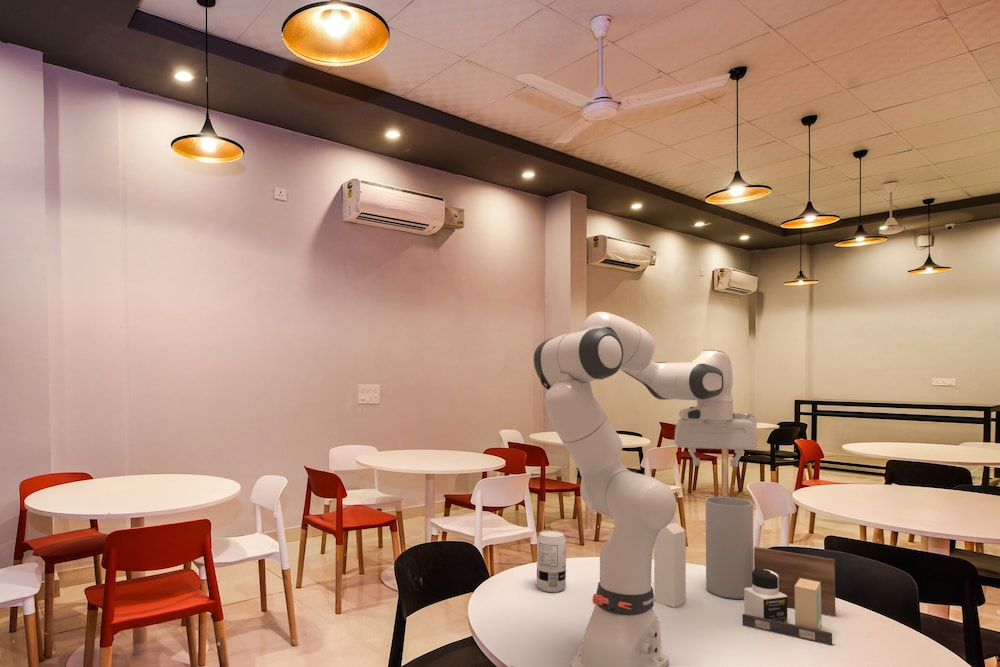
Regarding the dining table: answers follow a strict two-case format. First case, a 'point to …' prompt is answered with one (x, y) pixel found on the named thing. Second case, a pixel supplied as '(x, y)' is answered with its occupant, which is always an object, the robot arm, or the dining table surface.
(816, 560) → the brown flat boards
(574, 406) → the robot arm
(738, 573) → the cylinder vase
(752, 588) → the medicine bottle
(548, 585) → the supplement can
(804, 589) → the carton
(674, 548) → the milk
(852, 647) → the dining table surface
